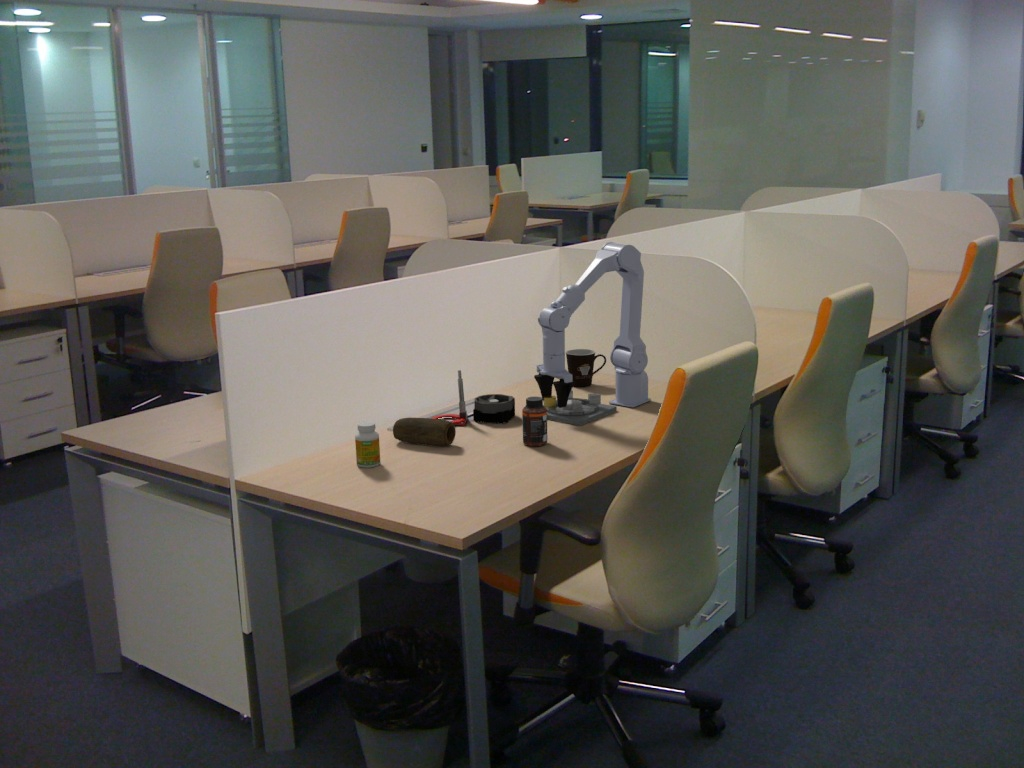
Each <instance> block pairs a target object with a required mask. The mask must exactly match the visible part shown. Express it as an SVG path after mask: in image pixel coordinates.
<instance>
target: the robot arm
mask: <svg viewBox="0 0 1024 768" xmlns="http://www.w3.org/2000/svg"><path fill="white" fill-rule="evenodd" d="M641 257H642V253H641V252H640V250H639V249H637V248H636V247H635V246H634V245H631V244H624V243H623V244H622V243H616V242H612V241H609V242H606V243H605V244H603V245H602V247H601V248H600V249H599V250H598V251H597V252H596V253H595V258H594V259H593V260H592V262H591V263H590V265H589V266H588V267H587V268H586V269H585V271H584V272H583V274H581V276H580V277H579V279H578V280H577V281H576V282H575V284H568V285H567V286H564V287H563V288H562V289H561V291H562V292H561V293H560V294H559V295H558V296H557V297H556V299H554V301H552V302H550V306H546V307H544V308H542V310H541V312H540V314H539V317H537V322H538V324H539V326H540V328H541V333H542V364H537V365H536V373H537V374H535V375H534V377H533V378H534V380H535V381H536V383H537V385H538V387H539V391H540V395H541V397H542V398H543V402H544V396H553V395H552V393H553V387H554V390H555V393H556V400H557V403H558V407H559V408H563V407H566V406H567V402H568V398H569V394H570V392H571V390H572V391H573V388H574V387H573V386H574V384H575V381H573V380H572V374H570V373H569V372H568V369H566V343H565V341H566V340H565V338H566V328H568V327H569V324H570V321H571V317H572V315H573V314H574V313H575V311H576V310H578V308H579V307H580V306H582V304H583V302H585V300H586V292H588V290H589V289H590V288H592V286H593V285H595V284H596V282H598V281H599V280H600V279H601V277H603V276H604V274H605V273H610V272H616V273H618V275H619V276H620V277H621V278H622V289H621V290H622V291H621V305H620V306H621V307H620V324H619V325H620V326H619V336H617V338H616V339H615V340H614V341H613V347H612V349H611V351H610V357H609V359H610V362H611V364H612V365H613V366H614V371H615V398H614V399H613V400H610V401H609V402H608V403H609V405H610V404H611V405H614V406H623V407H627V408H636V407H638V406H640V405H643V404H645V403H647V402H650V401H651V400H652V398H649V376H648V373H647V372H646V371H645V369H646V367H647V366H648V361H649V359H648V355H647V351H646V349H647V346H646V343H644V341H643V339H642V338H641V328H642V327H641V326H642V307H643V295H644V294H643V293H644V277H645V276H644V275H645V271H644V267H643V264H642V262H641V261H642V260H641ZM555 379H558V380H557V381H555Z"/></svg>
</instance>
